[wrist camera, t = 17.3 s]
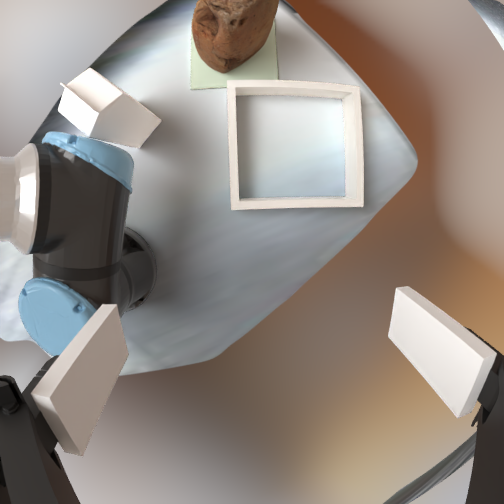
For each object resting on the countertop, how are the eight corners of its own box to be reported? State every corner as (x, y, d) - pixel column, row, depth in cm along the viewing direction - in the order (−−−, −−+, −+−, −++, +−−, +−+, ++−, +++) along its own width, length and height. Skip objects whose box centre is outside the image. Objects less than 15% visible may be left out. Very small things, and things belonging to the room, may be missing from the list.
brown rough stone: (238, 19, 39) (244, -52, 20) (271, 43, 41) (295, -22, 21) (192, 58, 41) (172, -4, 21) (226, 84, 42) (224, 29, 23)
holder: (231, 206, 48) (231, 210, 43) (227, 89, 43) (226, 80, 38) (351, 203, 49) (363, 206, 44) (348, 93, 44) (359, 86, 39)
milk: (137, 101, 42) (78, 57, 21) (162, 121, 44) (114, 83, 22) (114, 129, 43) (42, 105, 22) (139, 150, 45) (75, 135, 23)
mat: (191, 89, 43) (190, 88, 42) (192, 20, 39) (191, 19, 38) (277, 87, 43) (278, 86, 43) (273, 18, 40) (274, 17, 39)
